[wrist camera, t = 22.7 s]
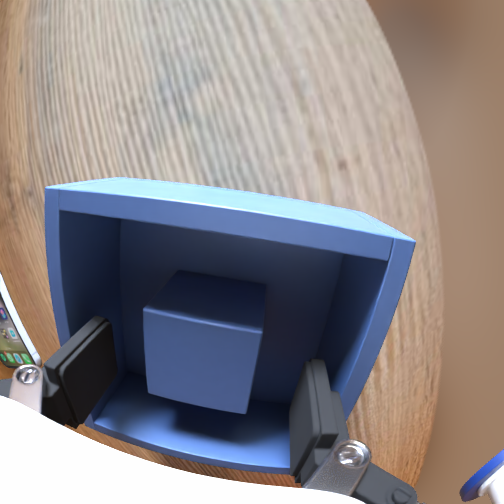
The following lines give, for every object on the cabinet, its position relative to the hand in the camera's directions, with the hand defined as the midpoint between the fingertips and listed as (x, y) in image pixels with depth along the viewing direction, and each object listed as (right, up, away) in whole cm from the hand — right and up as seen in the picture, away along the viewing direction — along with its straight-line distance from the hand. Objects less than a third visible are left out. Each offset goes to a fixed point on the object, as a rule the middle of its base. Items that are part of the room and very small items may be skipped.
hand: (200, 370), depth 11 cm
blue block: (0, +2, +4) cm, 4 cm away
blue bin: (0, +2, +4) cm, 5 cm away
